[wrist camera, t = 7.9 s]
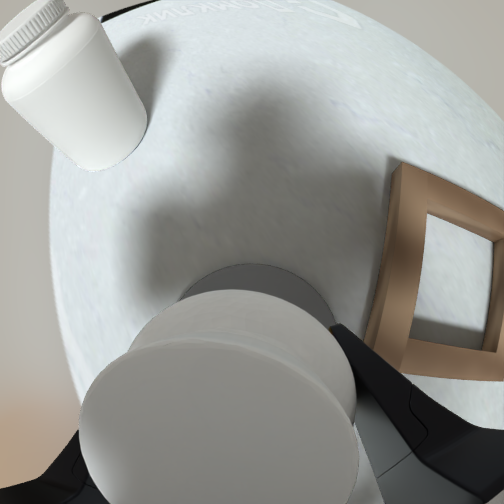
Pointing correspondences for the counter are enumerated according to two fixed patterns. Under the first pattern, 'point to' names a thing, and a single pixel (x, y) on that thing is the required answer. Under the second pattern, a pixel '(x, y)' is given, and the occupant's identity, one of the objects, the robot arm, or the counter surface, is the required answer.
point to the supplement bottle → (224, 408)
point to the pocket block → (409, 271)
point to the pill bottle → (71, 85)
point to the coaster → (267, 287)
